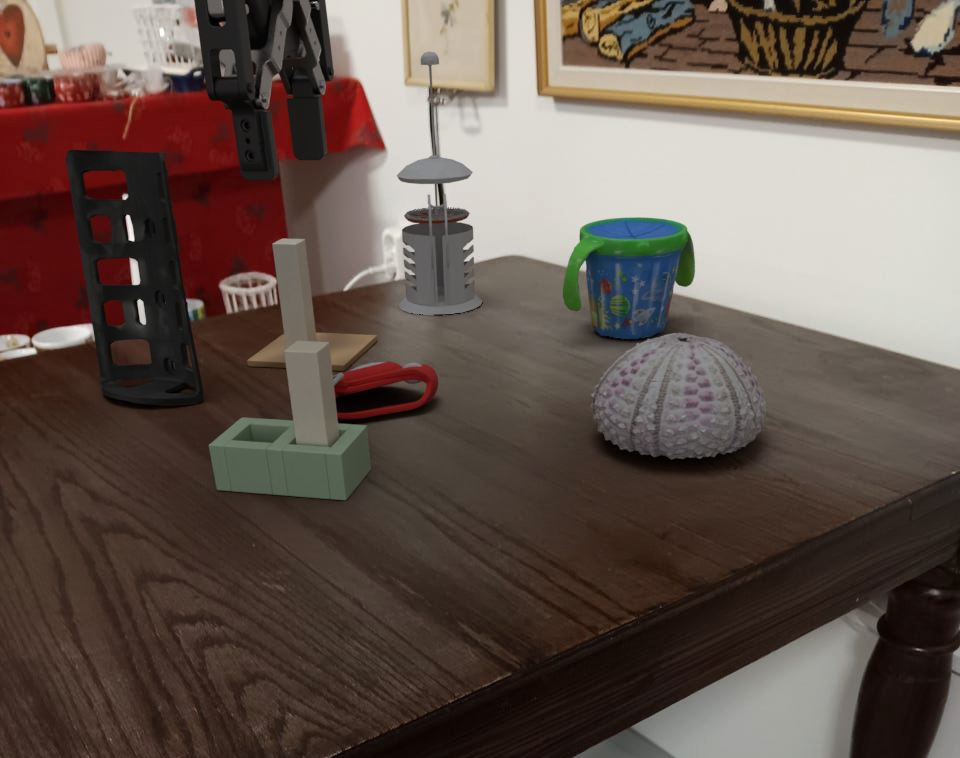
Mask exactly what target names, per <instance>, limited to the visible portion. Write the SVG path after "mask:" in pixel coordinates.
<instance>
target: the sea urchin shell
mask: <svg viewBox="0 0 960 758" xmlns="http://www.w3.org/2000/svg"><path fill="white" fill-rule="evenodd" d="M757 379H758V376H756V375H754V374H753V373H752V369H751V366H750V365H748V364H746V362H744V360H743V357H741V356H739V355H738V354H737V353H736V352H735V351H734V350H733V349H731V348H730V347H729V346H728V345H726V344H725V343H723V342H722V341H719V340H717V339H713V338H710V337H705V336H697V335H694V334H691V333H684V332H671V333H667V334H664V335H660V336H658V337H654V338H647V339H646V340H644V341H642V342H636V344H635V346H633V347H631V348H630V349H626V350H625V352H624V353H623V354H622V355H620V356H619V357H618V358H616V359H615V361H614V362H613V363H612V364H611V365H610V366H609V367H608V368H607V369H606V371H604V373H602V376H601V377H600V378H599V382H598V383H597V384H596V385H595V386H593V388H594V389H593V390H594V391H593V392H592V393H591V394H590V396H591V399H592V402H591V404H590V405H589V408H590V409H591V410H592V411H593V414H592V419H593V420H594V421H595V422H596V423H597V432H599V433H601V434H603V437H604V440H605V441H610V442H611V443H612V445H616V446H618V447H619V450H626V451H627V452H629V453H631V452H634V451H635V452H639V454H640V455H641V456H643V455H645V456H649V455H650V456H651V457H652V458H657V457H660V456H663V457H666V458H668V459H670V461H671V460H675V459H679V460H680V459H681V460H684V459H687V458H689V459H692V458H693V459H695V458H697V459H699V460H700V459H702V458H709V457H712V458H715V457H716V456H717V455H718V454H721V455H725V454H727V453H729V454H732V453H733V452H737V451H738V450H741V449H742V448H746V446H747V445H748V444H749V443H751V442H753V441H755V440H756V437H757V435H758V434H759V433H761V432H762V431H763V428H762V427H764V424H765V422H766V416H767V414H768V410H767V408H766V405H767V401H766V400H765V398H764V393H765V392H764V390H763V388H761V387H760V386H759V384H758V382H757Z"/></svg>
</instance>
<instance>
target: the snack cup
mask: <svg viewBox="0 0 960 758" xmlns="http://www.w3.org/2000/svg"><path fill="white" fill-rule="evenodd" d="M567 262H568V263H567V266H566V269H565V274H564V279H563V284H562V285H563V286H562V298H563V302H564V305H565V307H566V308H567V309H568V310H569V311H573V312H579V311H580V310H582V299H581V294H580V293H581V292H580V285H579V274H580V269H581V267H582V266H583V265H584V263H585V277H586V278H585V279H586V288H587V297H588V305H589V315H590V323H591V324H592V327H593V329H594V331H596V332H597V333H598V335H600V337H601V336H602V337H607V336H609V337H608V338H612V337H613V338H612V339H617V338H621V339H620V340H624V339H626V340H640V339H639V338H641V339H646V337H647V338H650V337H653V336H654V335H655V336H656V335H657V334H660V333H661V334H662V333H663V332H664V330H665V327H666V324H667V320H668V318H669V312H670V307H671V303H672V300H673V293H674V287H675V283H676V284H677V285H678V286H680V287H683V288H688V287H689V286H691V285H692V283H693V281H694V279H695V274H696V257H695V248H694V241H693V239H692V235H691V234H690V232H689V231H688V227H687V226H686V225H685V224H683V223H681V222H679V221H675V220H671V219H666V218H657V217H639V216H638V217H637V216H636V217H633V216H631V217H614V218H605V219H599V220H595V221H591V222H588V223H586V224H584V225H582V226H581V227H580V229H579V241H578V243H577V244H576V245H575V246H574V247H573V251H572V252H571V254H570V256H569V259H568V261H567Z"/></svg>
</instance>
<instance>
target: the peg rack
mask: <svg viewBox="0 0 960 758" xmlns="http://www.w3.org/2000/svg"><path fill="white" fill-rule="evenodd" d="M338 428H339V437H340V438H339V439H338V440H337V441H336V442H335V443H334V444H333V446H332V447H323V446H309V445H297V444H296V437H295V429H294V422H293V420H292V419H291V420H289V419H277V418H276V419H273V418H260V417H259V418H258V417H243V416H242V417H241V418H239V419H238V420H236V422H234V424H232V425H231V426H229V428H227V429H226V430H225V431H224V432H223V433H221V434H220V435H219V436H218V437H216V438H215V439H214V440H213V441H211V442H210V443H209V444H208V450H209V455H210V461H211V466H212V471H213V476H214V477H213V478H214V483H215V489H216V491H222V492H235V493H246V494H247V493H248V494H258V495H259V494H261V495H271V496H273V495H274V496H287V497H299V498H311V499H324V500H335V501H347V500H348V499H349V497H350V496H351V495H352V494H353V492H354V491H355V490H356V489H357V488H358V487H359V485H360V484H361V483H362V481H363V480H364V479H365V478H366V477H367V475H368V474H370V472H371V470H372V463H371V452H370V441H369V431H368V425H366V424H352V423H340V422H338Z"/></svg>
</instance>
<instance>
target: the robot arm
mask: <svg viewBox="0 0 960 758" xmlns="http://www.w3.org/2000/svg"><path fill="white" fill-rule="evenodd" d="M193 2H194V9H195V16H196V23H197V32H198V37H199V38H198V39H199V45H200V52H201V60H202V66H203V68H202V69H203V75H204V76H203V77H204V82H205V90H206V95H207V97H208V99H209V100H210V101H211V102H222V104H223V107H224V109H225V110H226V111H231V118H232V119H231V120H232V126H233V133H234V138H235V144H236V145H235V147H236V151H237V158H238V165H239V172H240V175H241V177H242V178H243V180H245V181H247V182H270V181H273V180H275V179H277V178H278V176H279V174H280V173H279V172H280V170H279V162H278V155H277V147H276V139H275V138H276V137H275V133H274V132H275V131H274V125H273V123H274V122H273V115H272V110H268V109H269V107H270V99H271V93H272V85H273V78H274V77H275V76H276V75H278V76H279V78H280V81H281V83H282V86H283V88H284V91H285V93H286V95H287V96H288V97H286V105H287V107H286V108H287V114H288V115H287V116H288V122H289V131H290V136H291V137H290V138H291V139H290V140H291V147H292V154H293V156H294V158H295V159H296V160H298V161H320V160H323V159H325V158H326V157H327V156H328V155H327V154H328V144H327V135H326V126H325V116H324V105H323V97H322V96H324V95H325V94H326V89H327V82H328V83H329V82H333V81H334V77H335V76H334V75H335V69H334V62H333V61H334V60H333V55H332V46H331V37H330V29H329V21H328V20H329V19H328V11H327V2H326V0H193ZM221 24H222V25H221ZM221 64H222V66H223V67H224V72H223V73H224V74H223V76H222V70H221V69H222V68H221ZM289 96H290V97H289Z"/></svg>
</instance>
